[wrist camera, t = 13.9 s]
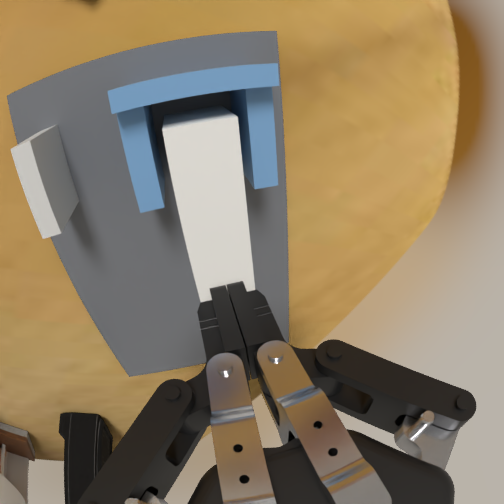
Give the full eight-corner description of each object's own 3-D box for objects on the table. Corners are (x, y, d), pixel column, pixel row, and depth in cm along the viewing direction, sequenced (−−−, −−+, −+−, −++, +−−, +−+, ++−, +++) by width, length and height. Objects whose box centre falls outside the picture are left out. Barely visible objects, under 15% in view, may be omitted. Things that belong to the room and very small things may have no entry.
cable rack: (129, 372, 27) (130, 420, 22) (10, 94, 12) (-40, 110, 7) (286, 338, 29) (306, 383, 25) (273, 31, 14) (314, 20, 10)
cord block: (213, 335, 26) (222, 378, 22) (164, 115, 15) (162, 130, 12) (249, 326, 26) (263, 368, 22) (221, 105, 16) (237, 116, 12)
